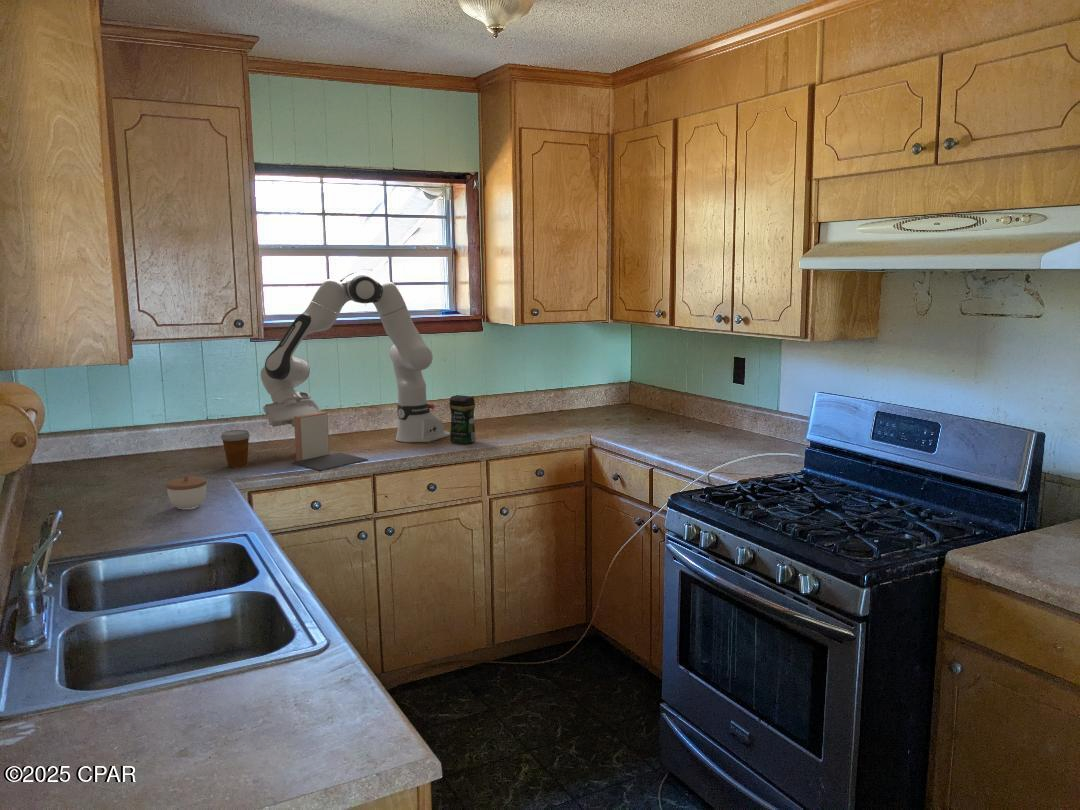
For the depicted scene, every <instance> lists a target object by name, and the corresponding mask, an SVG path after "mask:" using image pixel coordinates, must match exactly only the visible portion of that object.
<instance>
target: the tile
mask: <svg viewBox="0 0 1080 810" xmlns="http://www.w3.org/2000/svg"><path fill="white" fill-rule="evenodd" d="M328 418H329V416H328V412H326V411H321V412H317V413H311V414H305V415H299V416H294V440H295V442H294V444H295V454H296V455H295V456H296V457H295V460H296V461H298V460H299V461H301V460H306V459H311V458H315V457H320V456H325V455H330V454H331V453H330V437H329V419H328Z"/></svg>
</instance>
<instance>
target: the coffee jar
mask: <svg viewBox="0 0 1080 810" xmlns="http://www.w3.org/2000/svg"><path fill="white" fill-rule="evenodd" d="M448 404H449V409H450V419H451V420H450V432H449V433H450V436H449V439H450V440H449V441H450V442H451V443H453V444H457V443H458V445H468V444H469V443H471V444H474V443H475V442H476V429H475V414H474V413H475V407H476V402H475V398H474V396H470V395H469V396H468V395H463V394H462V395H460V394H459V395H458V394H457V395H453V396H451V397H450V399H449V403H448ZM473 442H474V443H473Z"/></svg>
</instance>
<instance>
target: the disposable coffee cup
mask: <svg viewBox="0 0 1080 810" xmlns="http://www.w3.org/2000/svg"><path fill="white" fill-rule="evenodd" d="M250 436H251V434H250V432H249V430H246V429H233V430H232V429H231V430H225V431H222V433H221V436H220V438H221V440H222V443H223V448H224V454H225V457H226V463H227V467H228V468H230V467H241V468H243V467H242V466H245V467H247V466H248V458H249V457H248V456H249V439H250ZM246 465H247V466H246Z"/></svg>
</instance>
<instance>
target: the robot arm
mask: <svg viewBox="0 0 1080 810" xmlns="http://www.w3.org/2000/svg"><path fill="white" fill-rule="evenodd" d="M350 301H352V302H354V303H359V304H373V305H374V306H375V309H376V311H377V314H378V317H379V319H380V321H381V323H382V326H383V328H384V331H385V334H386V335H387V336H388V337H389V338H390V340H391V342H392V343H393V345H392V346H391V348H390V350H389V357H390V359H391V362H392V366H393V369H394V375H395V379H396V384H397V399H398V400H397V401H398V403H397V406H396V407H397V415H398V420H397V428H396V429H397V430H396V431H397V432H396V436H395V440H396V441H398V442H402V443H430V442H433V441H436V440H439V439H443V438H445V437H446V438H447V437H450V432H449V431H446V430H445V426H444V423H443V421H442V419H440V418H439V417H438V416H436V415H435V414H434V413H432V412H431V409H432V410H434V409H435V404H434V403H428V402H427V384H426V381H425V379H424V376H423V372H422V371H424V370H426V369H428V368H429V367H430V366H431V364H432V363H433V357H434V356H433V353H432V350H431V349H430V348H429V347H428V345H427V344H426V342H425V341H424V339H423V337H422V335H421V333H420V332H419V330H418V329H417V327H416V325H415V323H414V321H413V319H412V317H411V315H410V311H409V309H408V306H407V305H406V302H405V299H404V297H403V296H402V293H400V290H399V288H398V287H397V286H396V284H395V283H394V282H391V281H381V282H379V281H377V280H376V279H375V278H373V277H372V276H370V275H368V274H366V273H363V272H352V273H350V274H348V275H347V276H345V277H343V278H342V279H340V280H337V279H335V278H334V279H333V278H328V279H325V280H324V281H323V282H322V283H321V285H320V287H319V288H318V289H317V291H316V292H315V294H314V295H313V297H312V299H311V301H310V303H308V304H309V305H308V306H307V307H306V309H305V310H304V311H303V312H302V313H301V314H299V315H298V316H297V317H296V318H295V319H294V321H292V323H291V325H290V326H289V328H288V329H287V331H286V332H285V334H284V335H283V337H282V339H281V340H280V341H279V343H278V344H277V346H276V347H275V348H274V349H273V350H272V351H271V352H270V353H269V355H267V357H266V359H265V360H264V361H265V362H264V366H263V367H262V369H261V370H260V380H261V382H262V385H263V386H264V388H265V390H266V392H267V394H269V395H270V398H271V401H272V403H266V404H265V405H264V406H263V411H264V413H265V414H266V417H267V418H266V419H267V420H268V423H269V425H270V426H271V427H274V428H275V427H282V426H286V425H291V426H292V427H294V416H299V415H305V414H311V413H317V412H322V410H321V409H320V407H319V405H318V404H317V402H316V401H315V400H314V399H312V395H311V394H310V393H309V392H304V391H299V390H295V388H296V387H298V386H300V385H301V384H303V383H304V382H306V381H307V380H308V378H309V375H310V372H311V370H310V364H309V363H308V362H307V361H306V360H305V359H302V358H300V357H297V356H293V354H294V353H295V352H296V350H297V348H298V346H300V344H301V342H302V341H303V339H304V338H305V337H306V336H308V335H310V334H312V333H317V332H324V331H327V330H330V329H331V328H332V327H333V326H334V325H335V323H336V321H337V319H338V317H339V316H340V315H339V314H340V313H341V312H342V309H343V307H344V306H345V305H346V303H348V302H350ZM294 428H295V427H294Z"/></svg>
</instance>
